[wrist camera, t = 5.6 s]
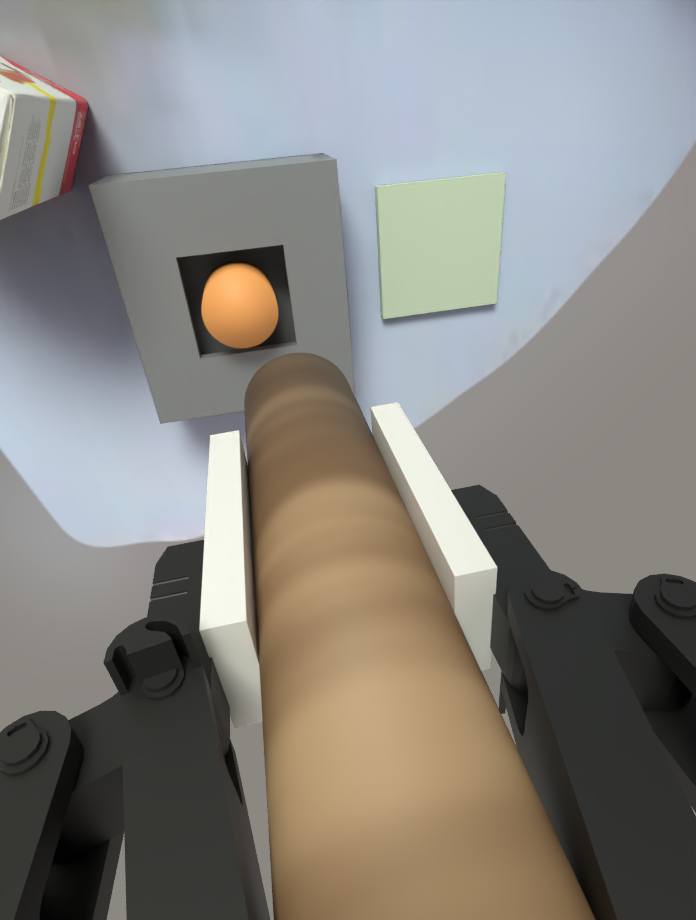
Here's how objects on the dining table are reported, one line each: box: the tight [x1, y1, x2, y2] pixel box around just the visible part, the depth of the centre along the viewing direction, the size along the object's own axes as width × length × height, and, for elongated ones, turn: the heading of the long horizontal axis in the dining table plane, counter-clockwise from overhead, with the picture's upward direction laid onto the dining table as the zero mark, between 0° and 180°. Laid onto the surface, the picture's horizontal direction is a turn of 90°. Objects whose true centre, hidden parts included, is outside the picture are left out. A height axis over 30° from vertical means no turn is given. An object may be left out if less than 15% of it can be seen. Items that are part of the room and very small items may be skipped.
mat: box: [375, 172, 506, 319], centre depth 35 cm, size 8×8×1 cm
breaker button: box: [201, 260, 278, 348], centre depth 30 cm, size 4×4×3 cm
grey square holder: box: [88, 153, 355, 424], centre depth 32 cm, size 13×12×5 cm
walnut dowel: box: [244, 353, 596, 920], centre depth 12 cm, size 4×4×15 cm
